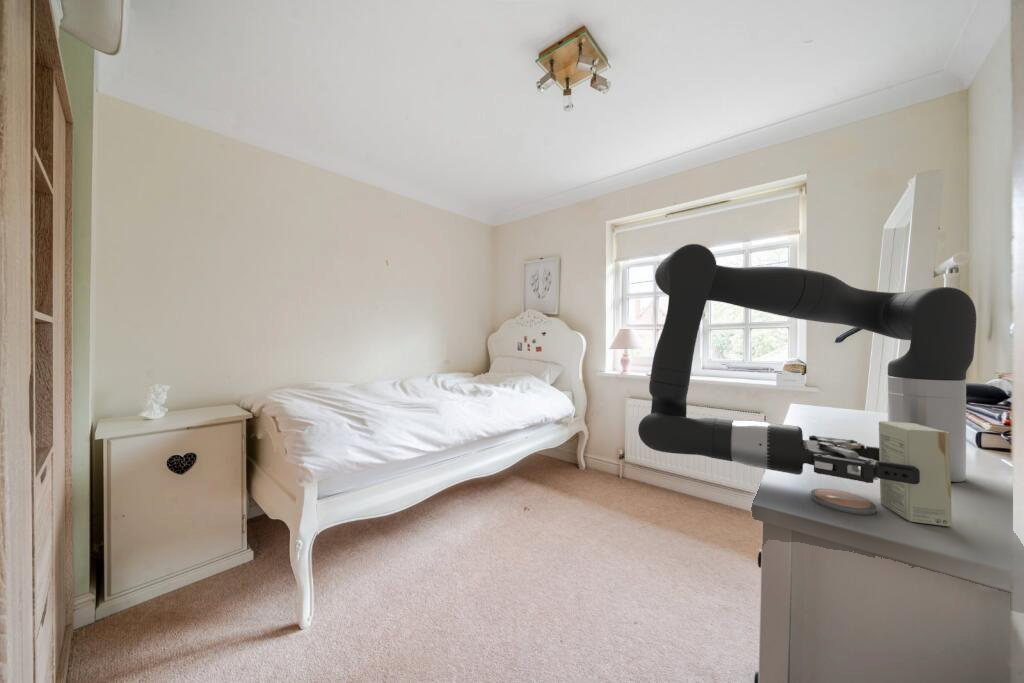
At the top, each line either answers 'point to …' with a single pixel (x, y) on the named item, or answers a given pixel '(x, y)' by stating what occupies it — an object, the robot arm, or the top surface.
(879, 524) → the top surface
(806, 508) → the top surface
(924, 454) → the skincare box
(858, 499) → the tile
